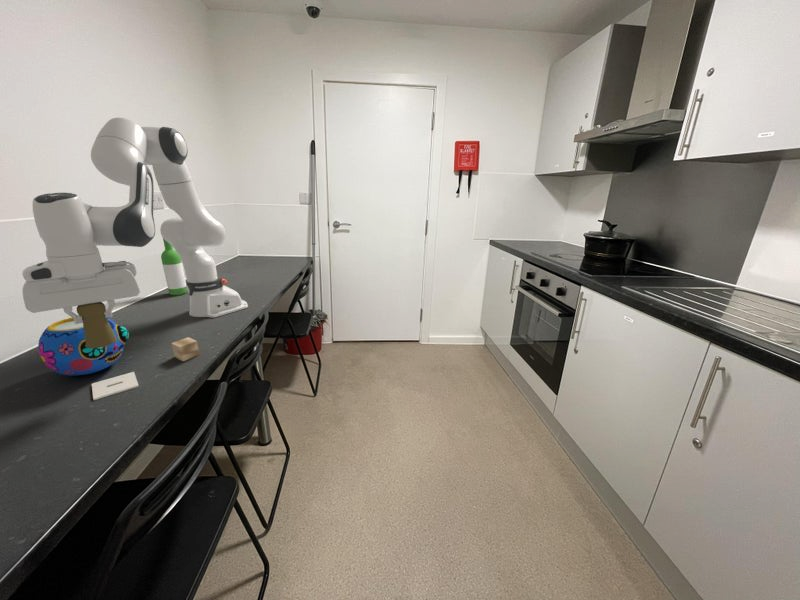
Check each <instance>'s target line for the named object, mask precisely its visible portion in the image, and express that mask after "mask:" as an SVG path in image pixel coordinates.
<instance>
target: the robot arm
mask: <svg viewBox="0 0 800 600" xmlns="http://www.w3.org/2000/svg"><path fill="white" fill-rule="evenodd" d="M188 151H189V150H188V145H187V142H186V139H185V137H184V136H183V134H181V133H180V132H179V131H178V130H177V129H175V128H173V127H172V128H171V127H168V126H161V127H160V126H159V127H157V126H140V125H139V124H137V123H136V122H134V121H133V120H130V119H129V118H128V119H127V118H125V117H114V118H110V119H109V120H108V121H107V122H105V124H104V125H103V127H102V128H100V130H99V132H98V134H97V136H96V138H95V140H94V142H93V144H92V146H91V150H90V158H91V162H92V164H93V166H94V167H95V169H96V170H98V172H99V173H101V174H102V175H103V176H104V177H106V178H107V179H109V180H111V181H113V182H115V183H118V184H121V185H125V186H128V187H129V197H128V203H126V204H124V205H121V206H92V205H90V204H87V203H85V202H83V201H82V199H81V198H80V196H79V195H78V194H75V193H72V192H53V193H51V192H49V193H44V194H41V195H37V196H36V197H34V198H33V199H32V214H33V219H34V223H35V226H36V229H37V232H38V236H39V237H40V238H41V240H42V241H43V244H44V245H45V255H46V258H47V260H45V261H42V262H40V263H36V264H31V265H30V266H27V267H26V268H24V269H23V271H22V277H23V279H24V280H25V282H24V284H23V286H22V298H23V303H24V307H25V309H26V310H27V311H28V312H30V313H33V314H36V313H41V312H49V311H53V310H54V311H55V310H60V309H63V312H64V314H66V315H67V316H69V317H70V318H73V319H74V322H75V324H79V323H83V319H82V317H81V316H79V314H77V313H75V312H74V311H73V307H77V306H79V305H85V304H91V303H97V302H102V303H103V302H107V305H108V308H107V309H106V311H105V312H104V314H105V317H106V318H109V319H111V318H114V314H113V310H114V307H115V305H116V302H115V300H121V299H126V298H127V299H128V298H132V297H137V296H139V295H140V293H141V290H140V287H139V284H138V281H137V280H136V278H135V277H136V276H137V269H136V266H135V264H133V263H131V261H130V262H129V261H126V260H119V261H109V262H108V261H107V262H103V261H102V257H101V254H100V251H99V248H98V246H104V247H108V246H109V247H113V246H114V247H117V246H118V247H120V246H122V247H123V246H124V247H133V248H135V247H136V248H137V247H138V248H142V247H146V246H147V245H148V244H149V243H150V242H152V240H153V239H154V237H155V235H156V225H155V218H154V194H155V193H154V190H155V189H154V179H153V175H152V172H151V170H150V169H149V167H148V166H152V170H153V174H154V177H155V180H156V183H157V186H158V188H159V191H160V193H161V196H162V199H163V201H164V204H165V205H166V207H168V208H169V209H170V210H172V211H173V212H175V213H176V214H177V216H179V217H175V218H169V219H166V220H164V221H163V222H162V223H161V225H160V229H159V230H160V231H159V232H160V235H161V237H162V239H163V238H164V240H165V241H167V242H168V243H169V244H171V245H172V247H173V249H174V250H175V251H176V252H177V253H178V255H179V257H180V258H181V262H182V266H183V271H184V275H185V281H186V287H187V294H188V298H189V313H188V315H189V316H191V317H192V318H193V317H194V318H217V317H220V316H224V315H228V314H231V313H234V312H239V311H241V310H245V309H247V308H248V307H249V305H248V302H247V301H245V300H244V299H242V298H241V295H240V294H239V293H238V292H237V291H236V290H234V289H232V288H231V287H228V286H227V285H228V284H227V283H228V281H227V279H225V278H221V277H220V276H219V277H218V272H217V265H216V261H215V260H214V258H213V257H212V256H211V255H209V254H208V253H207V251H205V250H204V248H212V247H218V246H221V245H222V244H224V243H225V241H226V237H227V232H226V231H227V230H226V229H225V226H224V225H223V224H222V223H221V222H220V221H218V219H217V220H216V219H215V218H214V217H213V216H212V215H211V213H210V212H208V210H207V209H206V208H205V206H204V205H203V203H202V201H201V199H200V198H199V194H198V192H197V189H196V187H195V184H194V180H193V177H192V175H191V172H190V170H189V168H188V166H187V163H186V161H185V160H186V159H187V156H188V153H189V152H188Z"/></svg>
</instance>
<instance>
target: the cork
mask: <svg viewBox="0 0 800 600" xmlns="http://www.w3.org/2000/svg"><path fill="white" fill-rule="evenodd" d="M106 308H107V307H106V305H105V304H104V303H103V302H97V303H91V304H85V305H79V306H76V314H77V315H79V316H81V317H82V319H83V327H84V335H85V342H86V347H87V348H100V347H105V346H108V345H111V344H113V343H115V342H116V341H117V338H116V336H115V334H114V332H113V330H112V328H111V326H110V324H109V322H108V320H107V318H106V317H105V314H104V312H105V311H106V310H107V309H106Z"/></svg>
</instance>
